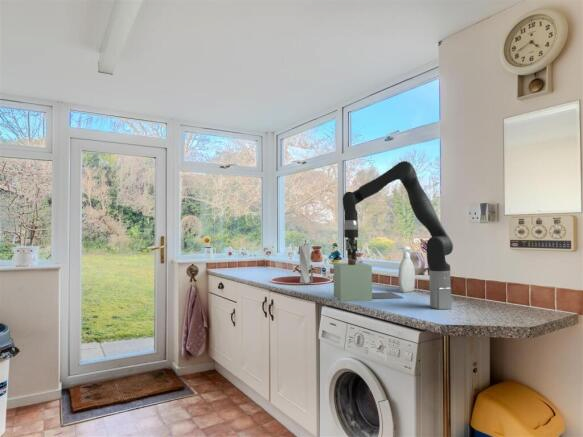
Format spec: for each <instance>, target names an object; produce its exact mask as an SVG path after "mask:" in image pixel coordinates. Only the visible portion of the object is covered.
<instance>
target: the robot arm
mask: <svg viewBox="0 0 583 437" xmlns="http://www.w3.org/2000/svg"><path fill="white" fill-rule="evenodd" d="M397 180H399V181H400V182H401V183H402V185H403V187H404V189H405V191H406V192H407V195H408V196H407V197H408V200H409V204H410V207H411V210H412V212H413V214H414V215H415V218H416V220H418V221H419V223H421V225H422V226H423V227H424V228H425V229H426V230H427V232H429V234H430V236H431V237H430V238H429V239H428V240H427V242H426V246H425V247H426V262H427V266H428V268H429V270H428V271H429V273H428V274H429V276H428V277H429V278H428V279H429V307H430V308H433V309H437V310H451V309H453V306H452V302H453V301H452V288H451V287H452V286H451V265H450V264H449V263H448V262H447V261H446V256H448V255H450V254H451V253H452V252H453V249H454V244H453V241H452V239H451V238H450V236H449V235H448V234H447V231H446V230H445V229H444V226H443V225H442V223H441V220H440V219H439V216H438V215H437V213H436V211H435V209H434V207H433V204H432V203H431V200H430V197H429V196H428V195H427V194H426V192H425V190H424V189H423V187H422V186H421V183H420V181H419V178H418V176H417V173H416V168H415V167H414V166H413V164H412V163H411V162H409V161H405V160H403V161H400V162H398V163H396V164H395V165H393V166H392V167H391V168H389V169H388V170H387V171H385V172H384V173H382V174H380V175H379V176H378V177H376V178H374V179H373V180H371V181H368V182H367V183H364V184H363V185H360V186H359V188H358V189H356V190H354V191H347V192H345V193H344V194H343V195H342V196H343V197H342V206H343V211H344V224H343V228H344V229H343V232H344V233H343V236H344V238H345V239H346V240H345V250H346V252H347V254H346V256H347V259H348V255H351V259H357V252H358V240H357V238H359V222H358V211H357V209H356V208H357V206H356V205H357V204H359V203H360V202H362V201H364V200H365V199H367V198H369V197H371V196H374V195H376V194H377V193H379V192H380V191H382V190H383V189H384V188H385V187H386V186H387V185H389V184H390V183H393V182H394V181H397Z"/></svg>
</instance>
